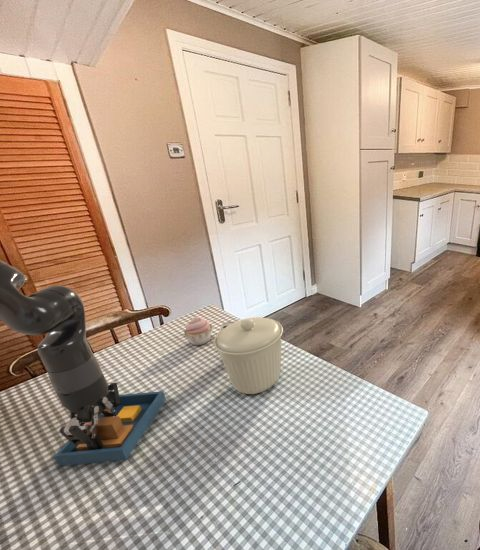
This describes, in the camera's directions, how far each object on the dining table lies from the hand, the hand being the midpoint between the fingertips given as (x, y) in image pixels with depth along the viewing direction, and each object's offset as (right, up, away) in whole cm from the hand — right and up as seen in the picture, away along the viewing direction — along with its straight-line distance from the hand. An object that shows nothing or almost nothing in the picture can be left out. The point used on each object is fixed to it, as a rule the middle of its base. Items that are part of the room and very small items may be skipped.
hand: (105, 437), depth 70 cm
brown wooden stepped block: (0, -2, +1) cm, 2 cm away
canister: (+28, +6, +21) cm, 35 cm away
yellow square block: (-1, +1, +8) cm, 8 cm away
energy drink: (+16, +10, +32) cm, 37 cm away
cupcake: (0, +13, +40) cm, 42 cm away
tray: (-1, -1, +5) cm, 5 cm away
